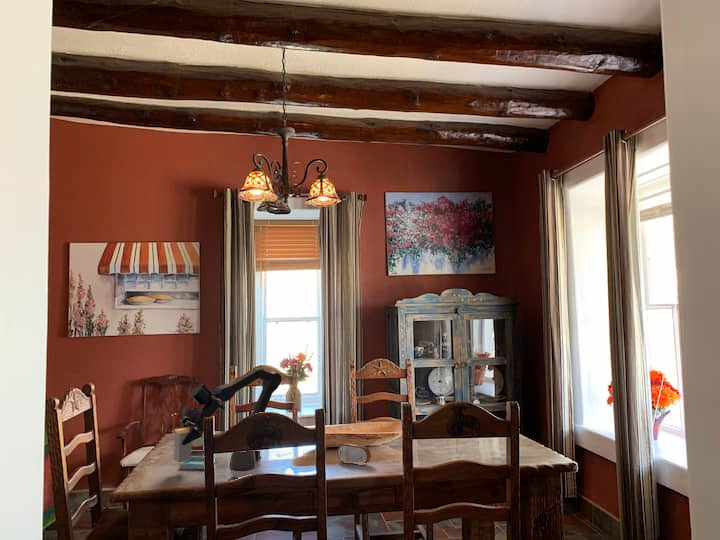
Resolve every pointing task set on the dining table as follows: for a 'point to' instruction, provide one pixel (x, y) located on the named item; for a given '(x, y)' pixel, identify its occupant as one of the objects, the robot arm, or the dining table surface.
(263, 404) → the robot arm
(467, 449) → the dining table surface
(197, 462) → the tray
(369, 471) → the dining table surface
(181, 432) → the caddy
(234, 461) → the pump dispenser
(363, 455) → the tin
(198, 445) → the food container
